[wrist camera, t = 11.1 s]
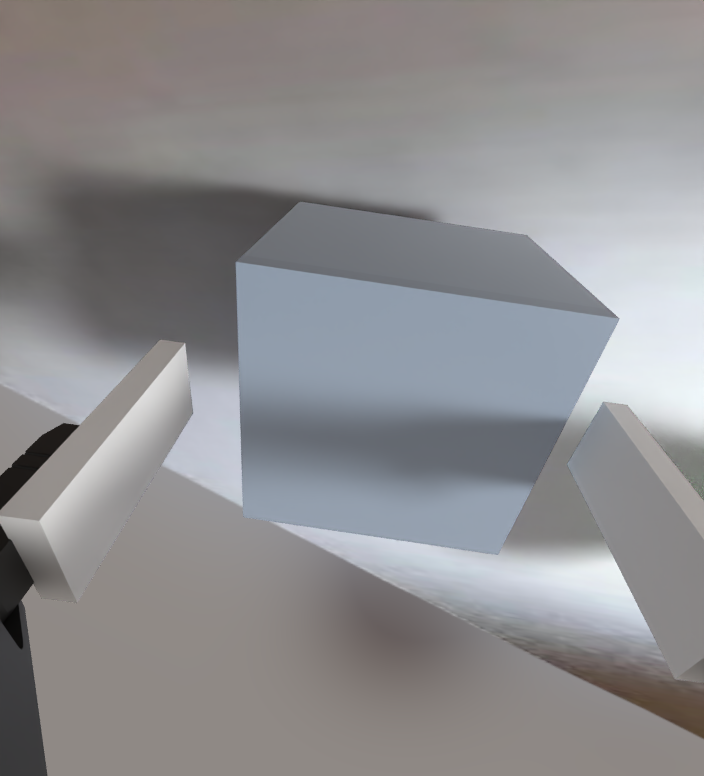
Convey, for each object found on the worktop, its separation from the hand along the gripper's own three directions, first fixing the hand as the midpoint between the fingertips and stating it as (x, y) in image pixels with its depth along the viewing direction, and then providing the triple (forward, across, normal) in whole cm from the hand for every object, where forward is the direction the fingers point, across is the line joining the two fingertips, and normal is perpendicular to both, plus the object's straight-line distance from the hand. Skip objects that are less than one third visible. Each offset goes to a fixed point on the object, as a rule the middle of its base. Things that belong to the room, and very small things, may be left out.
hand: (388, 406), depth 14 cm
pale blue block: (+8, 0, -1) cm, 8 cm away
